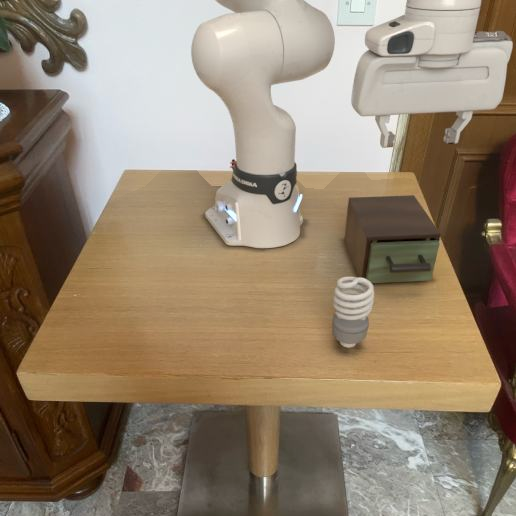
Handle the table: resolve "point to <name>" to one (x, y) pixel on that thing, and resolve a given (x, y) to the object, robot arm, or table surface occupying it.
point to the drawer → (401, 260)
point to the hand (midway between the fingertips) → (418, 144)
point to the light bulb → (352, 310)
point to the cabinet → (384, 224)
